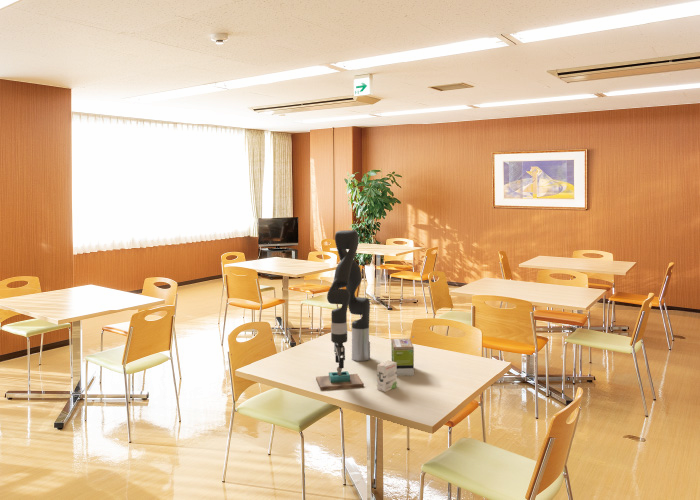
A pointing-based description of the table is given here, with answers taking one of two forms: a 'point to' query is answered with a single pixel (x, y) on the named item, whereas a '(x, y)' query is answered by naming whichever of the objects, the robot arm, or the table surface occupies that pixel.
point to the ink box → (386, 375)
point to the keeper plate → (326, 384)
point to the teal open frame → (339, 377)
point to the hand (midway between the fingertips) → (339, 365)
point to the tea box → (403, 356)
